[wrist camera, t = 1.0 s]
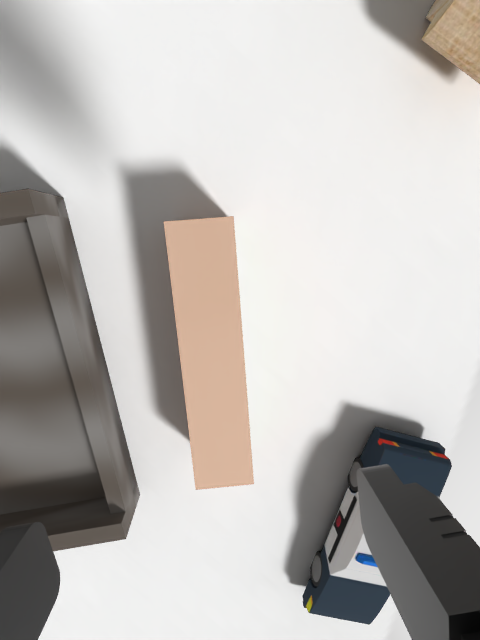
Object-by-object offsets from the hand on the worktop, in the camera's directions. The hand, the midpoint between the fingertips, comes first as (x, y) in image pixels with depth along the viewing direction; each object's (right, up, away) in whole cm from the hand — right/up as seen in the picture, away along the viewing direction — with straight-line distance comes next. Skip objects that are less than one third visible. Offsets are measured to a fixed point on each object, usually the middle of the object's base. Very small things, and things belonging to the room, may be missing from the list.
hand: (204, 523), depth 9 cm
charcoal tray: (-15, +1, +15) cm, 21 cm away
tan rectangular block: (-1, +4, +15) cm, 16 cm away
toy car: (+11, -10, +20) cm, 24 cm away
